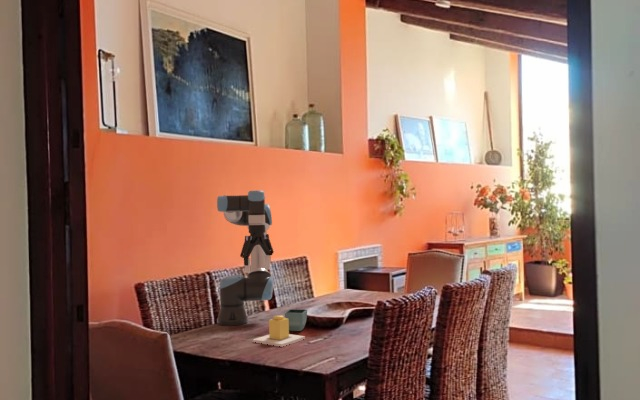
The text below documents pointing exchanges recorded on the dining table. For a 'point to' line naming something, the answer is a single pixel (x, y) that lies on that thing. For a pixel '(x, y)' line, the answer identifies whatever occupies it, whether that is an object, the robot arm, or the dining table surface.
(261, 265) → the robot arm
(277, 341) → the post board
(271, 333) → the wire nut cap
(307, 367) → the dining table surface
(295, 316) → the flower pot
